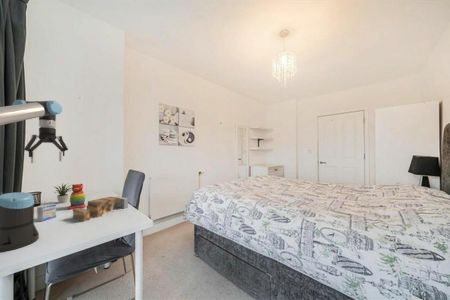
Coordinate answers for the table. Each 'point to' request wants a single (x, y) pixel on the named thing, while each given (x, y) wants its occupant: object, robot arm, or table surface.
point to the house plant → (62, 193)
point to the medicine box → (46, 212)
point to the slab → (103, 202)
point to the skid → (107, 208)
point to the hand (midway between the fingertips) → (47, 162)
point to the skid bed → (86, 213)
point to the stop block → (121, 202)
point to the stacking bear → (77, 197)
